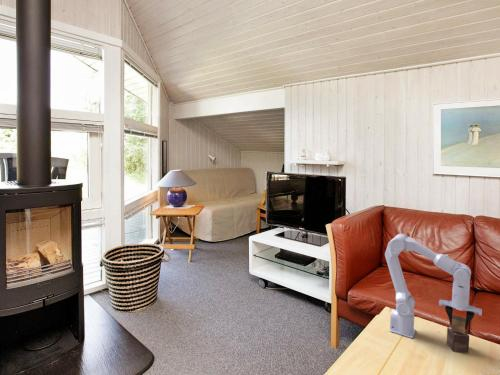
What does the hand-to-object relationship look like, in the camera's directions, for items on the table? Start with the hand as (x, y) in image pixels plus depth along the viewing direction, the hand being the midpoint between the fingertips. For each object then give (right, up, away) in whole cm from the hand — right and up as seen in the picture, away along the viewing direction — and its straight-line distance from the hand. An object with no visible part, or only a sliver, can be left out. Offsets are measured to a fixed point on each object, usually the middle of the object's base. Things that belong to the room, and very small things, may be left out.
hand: (458, 326), depth 129 cm
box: (0, -10, +1) cm, 10 cm away
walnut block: (0, -2, 0) cm, 2 cm away
